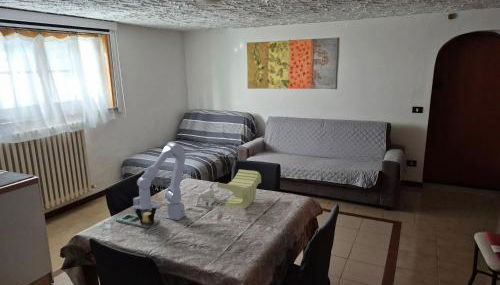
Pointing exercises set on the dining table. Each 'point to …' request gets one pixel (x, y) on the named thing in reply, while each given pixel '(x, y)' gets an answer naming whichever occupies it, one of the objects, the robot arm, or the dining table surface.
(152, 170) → the robot arm
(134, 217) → the grey grid frame
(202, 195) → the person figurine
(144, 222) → the mustard tan rectangular block
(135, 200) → the medicine box
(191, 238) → the dining table surface
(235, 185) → the slatted curved stool
